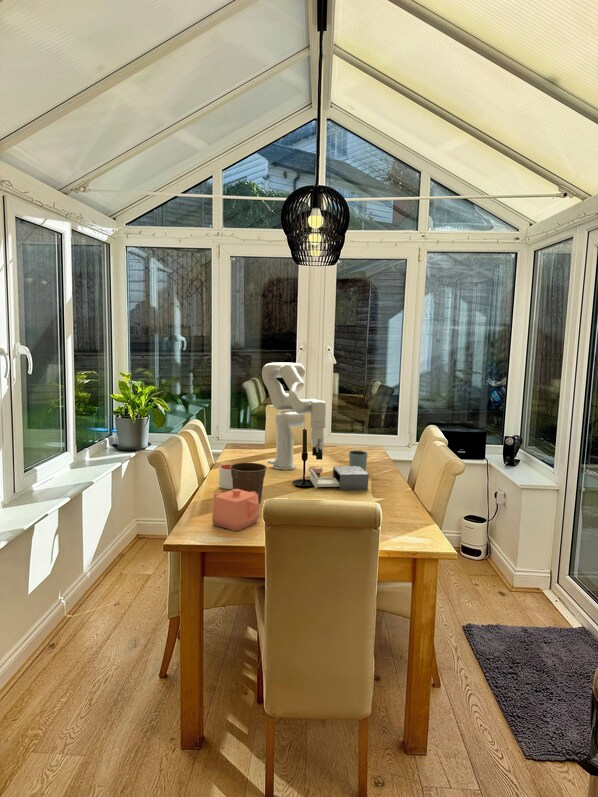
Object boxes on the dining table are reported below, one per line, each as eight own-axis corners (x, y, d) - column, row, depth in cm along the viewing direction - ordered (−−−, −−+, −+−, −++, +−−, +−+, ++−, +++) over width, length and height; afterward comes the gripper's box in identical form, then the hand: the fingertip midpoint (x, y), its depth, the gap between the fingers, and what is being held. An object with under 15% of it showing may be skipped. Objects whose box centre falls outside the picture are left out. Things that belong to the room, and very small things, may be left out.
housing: (340, 490, 265) (340, 474, 264) (332, 481, 280) (333, 466, 279) (367, 490, 267) (368, 474, 266) (358, 481, 283) (359, 466, 282)
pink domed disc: (310, 473, 279) (310, 469, 279) (307, 469, 286) (307, 465, 286) (323, 473, 280) (323, 469, 280) (320, 469, 287) (321, 465, 287)
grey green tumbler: (365, 477, 291) (366, 455, 289) (346, 475, 293) (347, 453, 291) (367, 472, 301) (368, 451, 299) (348, 470, 303) (349, 449, 301)
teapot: (246, 536, 203) (247, 500, 201) (201, 523, 214) (202, 488, 212) (276, 521, 219) (277, 487, 218) (233, 510, 231) (234, 478, 229)
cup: (223, 491, 257) (223, 470, 255) (216, 485, 265) (216, 465, 264) (242, 489, 261) (243, 468, 260) (235, 483, 270) (235, 463, 269)
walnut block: (312, 479, 281) (312, 472, 281) (310, 477, 285) (311, 470, 285) (319, 479, 282) (320, 472, 282) (318, 477, 286) (318, 470, 286)
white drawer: (315, 487, 263) (315, 476, 262) (309, 479, 277) (310, 468, 277) (342, 487, 265) (343, 476, 264) (335, 479, 280) (335, 468, 279)
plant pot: (241, 494, 253) (242, 460, 251) (272, 500, 246) (273, 465, 244) (221, 503, 238) (222, 467, 236) (253, 510, 231) (254, 473, 229)
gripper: (307, 422, 288) (307, 454, 289) (314, 427, 271) (313, 461, 273) (321, 422, 289) (320, 453, 291) (328, 427, 272) (328, 460, 274)
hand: (317, 457), depth 282 cm, fingers open, 9 cm apart
